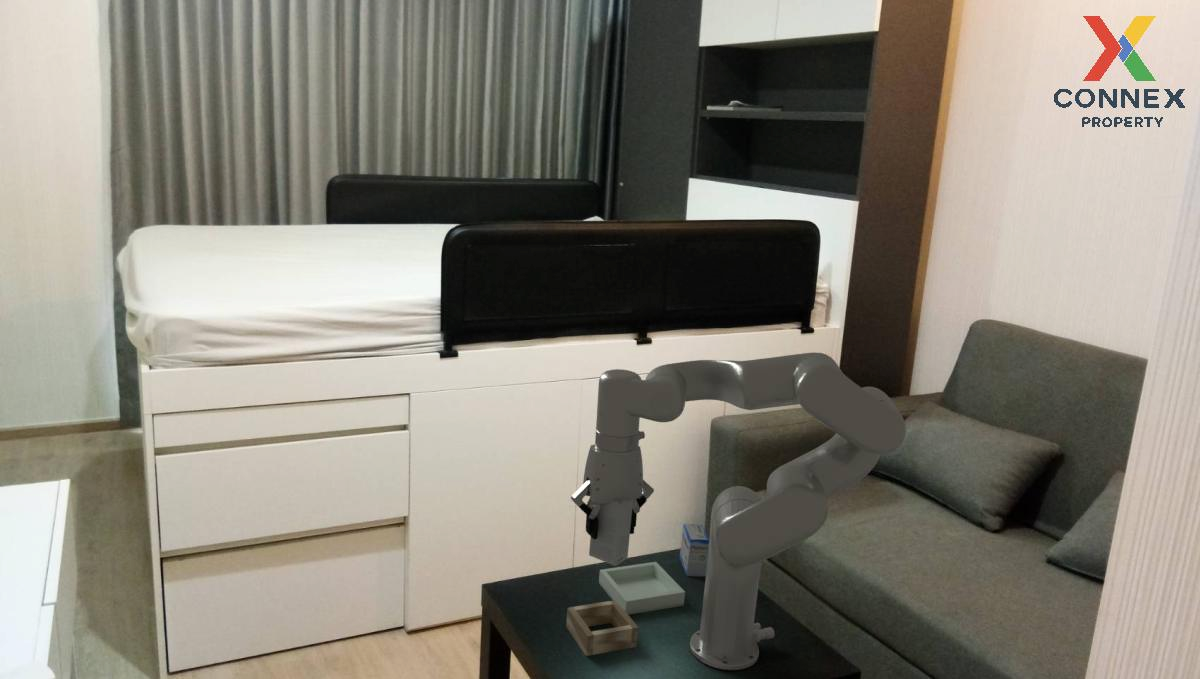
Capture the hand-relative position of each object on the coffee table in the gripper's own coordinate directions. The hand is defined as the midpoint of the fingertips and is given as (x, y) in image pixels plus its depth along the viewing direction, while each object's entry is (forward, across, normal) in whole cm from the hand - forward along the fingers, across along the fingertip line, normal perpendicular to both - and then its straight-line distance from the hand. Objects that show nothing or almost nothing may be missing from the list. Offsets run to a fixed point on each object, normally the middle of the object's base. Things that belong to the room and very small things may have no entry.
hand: (610, 532), depth 165 cm
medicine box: (+22, -30, -19) cm, 41 cm away
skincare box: (+5, 0, 0) cm, 5 cm away
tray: (+21, -14, -12) cm, 28 cm away
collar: (+21, 0, 0) cm, 21 cm away
